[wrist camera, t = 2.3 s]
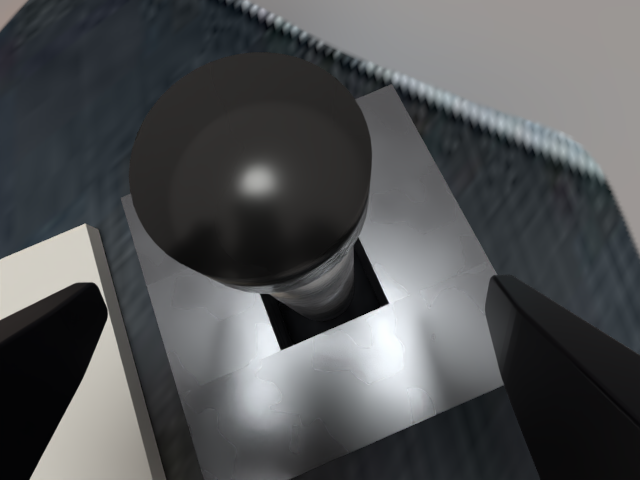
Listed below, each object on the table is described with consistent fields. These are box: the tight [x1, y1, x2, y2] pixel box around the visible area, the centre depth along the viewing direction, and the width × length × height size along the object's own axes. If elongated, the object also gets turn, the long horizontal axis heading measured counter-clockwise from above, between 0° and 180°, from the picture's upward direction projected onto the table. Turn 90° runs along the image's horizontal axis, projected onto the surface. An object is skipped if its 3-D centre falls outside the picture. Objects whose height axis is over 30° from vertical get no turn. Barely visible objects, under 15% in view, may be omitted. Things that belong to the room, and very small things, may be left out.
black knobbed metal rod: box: [129, 52, 372, 321], centre depth 12 cm, size 4×4×13 cm
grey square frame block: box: [121, 84, 504, 480], centre depth 17 cm, size 12×12×4 cm
